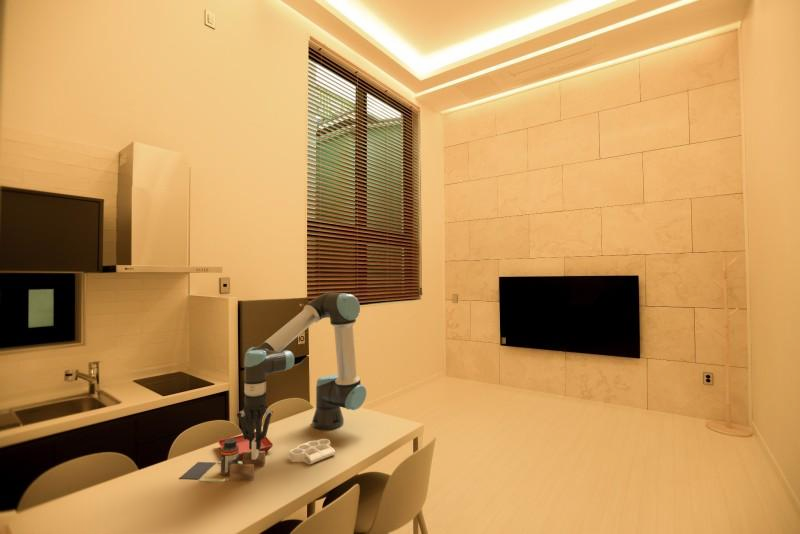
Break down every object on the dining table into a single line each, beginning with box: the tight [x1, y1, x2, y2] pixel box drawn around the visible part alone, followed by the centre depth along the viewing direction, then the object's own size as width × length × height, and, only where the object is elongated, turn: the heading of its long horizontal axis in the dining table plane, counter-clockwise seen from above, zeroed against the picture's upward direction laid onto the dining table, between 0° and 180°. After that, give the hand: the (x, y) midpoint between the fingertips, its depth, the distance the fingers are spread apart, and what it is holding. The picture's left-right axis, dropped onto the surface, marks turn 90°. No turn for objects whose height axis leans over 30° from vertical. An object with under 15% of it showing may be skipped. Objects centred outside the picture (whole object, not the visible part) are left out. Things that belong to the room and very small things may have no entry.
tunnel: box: [228, 451, 266, 482], centre depth 140 cm, size 8×12×5 cm, turn 178°
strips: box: [198, 460, 243, 483], centre depth 141 cm, size 8×14×1 cm, turn 178°
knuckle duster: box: [289, 438, 336, 465], centre depth 155 cm, size 3×18×15 cm
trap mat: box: [178, 461, 217, 480], centre depth 141 cm, size 7×12×1 cm, turn 178°
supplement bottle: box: [220, 439, 240, 476], centre depth 140 cm, size 6×6×11 cm
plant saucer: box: [217, 431, 274, 460], centre depth 159 cm, size 18×18×3 cm
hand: (255, 457), depth 141 cm, fingers closed
